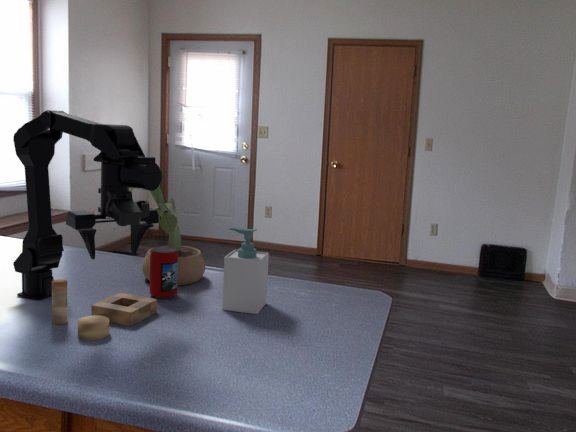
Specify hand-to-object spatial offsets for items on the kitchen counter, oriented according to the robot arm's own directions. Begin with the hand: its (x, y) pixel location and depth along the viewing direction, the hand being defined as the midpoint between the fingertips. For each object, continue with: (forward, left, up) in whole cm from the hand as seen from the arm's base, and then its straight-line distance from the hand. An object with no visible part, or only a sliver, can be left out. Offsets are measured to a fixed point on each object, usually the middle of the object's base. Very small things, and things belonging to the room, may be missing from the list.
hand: (113, 256), depth 121 cm
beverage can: (+2, +18, -14) cm, 23 cm away
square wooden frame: (+2, +2, -14) cm, 14 cm away
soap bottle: (+23, +20, -14) cm, 33 cm away
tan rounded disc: (+3, -10, -14) cm, 17 cm away
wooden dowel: (-7, -8, -14) cm, 17 cm away
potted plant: (-5, +30, -14) cm, 33 cm away
